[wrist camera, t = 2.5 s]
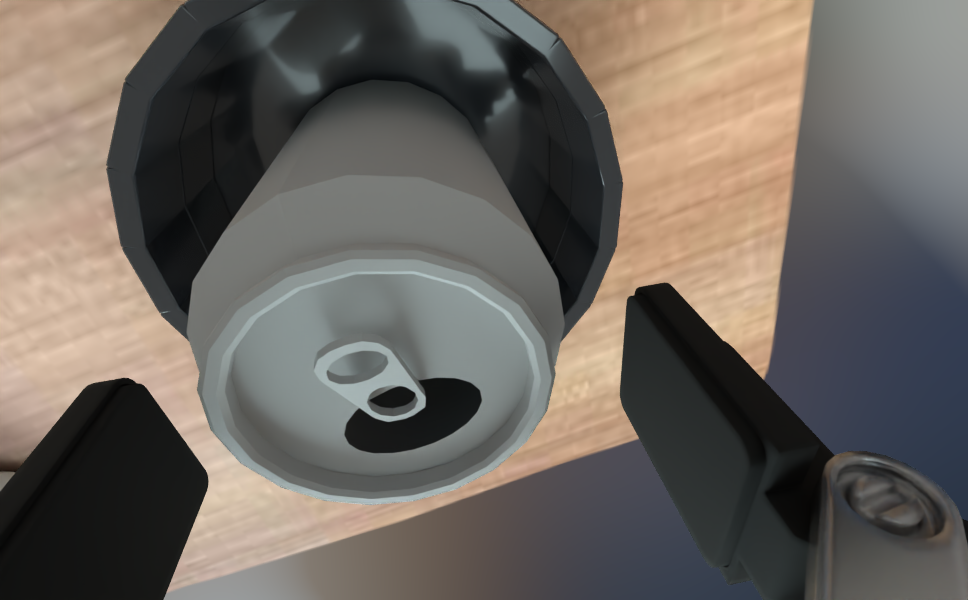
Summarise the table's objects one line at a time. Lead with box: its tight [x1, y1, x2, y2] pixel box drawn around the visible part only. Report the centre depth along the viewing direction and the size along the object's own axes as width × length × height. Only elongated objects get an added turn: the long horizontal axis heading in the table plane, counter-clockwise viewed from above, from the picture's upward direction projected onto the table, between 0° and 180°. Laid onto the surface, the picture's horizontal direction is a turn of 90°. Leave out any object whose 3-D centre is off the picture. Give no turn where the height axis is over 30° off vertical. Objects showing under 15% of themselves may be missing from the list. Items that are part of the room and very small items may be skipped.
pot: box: [106, 0, 623, 341], centre depth 16 cm, size 14×14×6 cm
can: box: [187, 80, 565, 505], centre depth 13 cm, size 8×8×12 cm
